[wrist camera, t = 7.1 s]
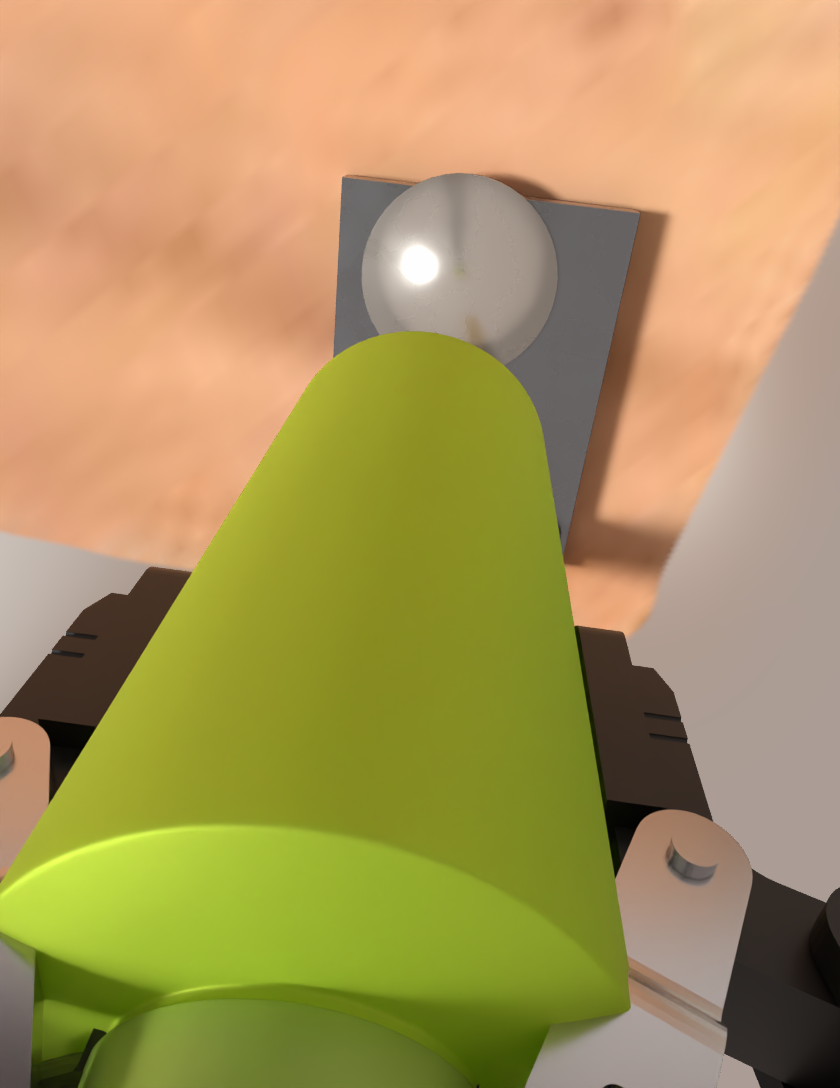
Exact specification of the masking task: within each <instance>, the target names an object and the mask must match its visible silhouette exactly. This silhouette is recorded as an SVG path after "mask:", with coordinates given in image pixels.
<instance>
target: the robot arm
mask: <svg viewBox="0 0 840 1088" xmlns="http://www.w3.org/2000/svg"><path fill="white" fill-rule="evenodd" d="M191 574H192V572H187V571H180V570H173V569H165V568H158V567H149V568H148V569H147V570H146V571H145V572H144V574H143V575H142V577H141V578H140V579H139V581H138V582H137V583H136V585H135V586H134V588H133V589H132V590H131V592H130V593H129V594H128V595H123V594H116V593H111V594H109V595H108V596H106V597H104V598H102V599H101V600H99V601H98V602H96V603H94V604H92V605H91V606H89V607H88V608H86V609H84V610H83V611H82V613H81V614H80V615H79V617H78V618H77V619H76V620H75V621H74V623H73V624H72V625H71V626H70V628H69V629H68V630H67V631H66V636H62V638H61V639H60V640H59V641H58V643H57V644H56V645H55V646H54V648H53V649H52V653H51V654H48V655H47V656H46V658H45V659H44V660H43V661H42V663H41V664H40V665H39V666H38V668H37V669H36V670H35V672H34V673H33V674H32V675H31V676H30V678H29V679H28V680H27V681H26V683H25V684H24V685H23V686H22V688H21V689H20V690H19V692H18V693H17V694H16V695H15V697H14V698H13V699H12V701H11V702H10V703H9V704H8V705H7V707H6V708H5V709H4V710H3V712H2V713H1V714H0V883H1V881H2V880H3V878H4V877H5V875H6V873H7V872H8V870H9V868H10V867H11V865H12V864H13V862H14V860H15V859H16V857H17V855H18V854H19V852H20V851H21V849H22V847H23V846H24V844H25V843H26V841H27V839H28V838H29V836H30V834H31V833H32V831H33V830H34V828H35V826H36V825H37V823H38V821H39V820H40V818H41V817H42V815H43V813H44V812H45V810H46V809H47V807H48V805H49V804H50V802H51V800H52V799H53V797H54V796H55V794H56V792H57V791H58V789H59V787H60V786H61V784H62V783H63V781H64V779H65V778H66V776H67V775H68V773H69V771H70V770H71V768H72V766H73V765H74V763H75V762H76V760H77V758H78V757H79V755H80V753H81V752H82V750H83V749H84V747H85V745H86V744H87V742H88V741H89V739H90V737H91V736H92V734H93V732H94V731H95V729H96V728H97V726H98V724H99V723H100V721H101V720H102V718H103V716H104V715H105V713H106V711H107V710H108V708H109V707H110V705H111V703H112V702H113V700H114V698H115V697H116V695H117V694H118V692H119V690H120V689H121V687H122V686H123V684H124V682H125V681H126V679H127V677H128V676H129V674H130V673H131V671H132V669H133V668H134V666H135V664H136V663H137V661H138V660H139V658H140V656H141V655H142V653H143V652H144V650H145V648H146V647H147V645H148V643H149V642H150V640H151V639H152V637H153V635H154V634H155V632H156V630H157V629H158V627H159V626H160V624H161V622H162V621H163V619H164V618H165V616H166V614H167V613H168V611H169V609H170V608H171V606H172V605H173V603H174V601H175V600H176V598H177V596H178V595H179V593H180V592H181V590H182V588H183V587H184V585H185V584H186V582H187V580H188V579H189V577H190V575H191ZM574 628H575V634H576V641H577V647H578V653H579V659H580V665H581V671H582V678H583V684H584V690H585V696H586V702H587V709H588V715H589V721H590V727H591V733H592V740H593V746H594V752H595V758H596V764H597V770H598V777H599V783H600V789H601V795H602V801H603V808H604V814H605V820H606V826H607V832H608V839H609V845H610V851H611V857H612V863H613V870H614V876H615V882H616V888H617V894H618V900H619V907H620V913H621V919H622V925H623V931H624V938H625V944H626V950H627V956H628V962H629V969H630V971H628V985H629V994H630V1002H631V1008H630V1010H629V1011H627V1012H623V1013H618V1014H613V1015H608V1016H602V1017H597V1018H591V1019H585V1020H579V1021H572V1022H565V1023H556V1024H551V1027H550V1029H549V1031H548V1034H547V1036H546V1038H545V1041H544V1043H543V1046H542V1048H541V1050H540V1053H539V1055H538V1057H537V1060H536V1062H535V1064H534V1067H533V1069H532V1071H531V1074H530V1076H529V1079H528V1081H527V1083H526V1086H525V1088H717V1083H718V1079H719V1074H720V1069H721V1065H722V1061H723V1056H724V1054H726V1055H728V1056H731V1057H733V1058H735V1059H737V1060H739V1061H741V1062H743V1063H745V1064H747V1065H749V1066H751V1067H753V1070H754V1072H755V1075H756V1077H757V1080H758V1082H759V1085H760V1087H761V1088H840V888H838V889H836V890H835V891H834V892H833V893H832V894H831V895H830V897H829V899H828V900H827V902H826V903H825V902H823V901H820V900H818V899H816V898H813V897H811V896H808V895H806V894H803V893H801V892H798V891H796V890H794V889H791V888H789V887H786V886H784V885H781V884H779V883H777V882H775V881H772V880H770V879H768V878H766V877H764V876H763V875H761V874H759V873H758V872H756V871H754V870H753V869H752V868H751V865H750V862H749V859H748V857H747V855H746V854H745V852H744V850H743V849H742V847H741V846H740V845H739V843H738V842H737V841H736V840H735V839H734V838H733V837H732V836H731V835H730V834H729V833H728V832H727V831H725V830H724V829H723V828H722V827H720V826H719V825H717V824H716V823H714V822H713V820H712V816H711V813H710V810H709V807H708V804H707V800H706V797H705V794H704V790H703V787H702V784H701V780H700V777H699V774H698V771H697V767H696V764H695V761H694V758H693V755H692V751H691V748H690V744H687V739H688V738H687V735H686V731H685V728H684V725H683V723H682V722H681V715H680V712H679V709H678V706H677V703H676V699H675V696H674V692H673V691H672V690H671V689H670V688H669V686H668V685H667V684H666V683H665V681H664V680H663V679H662V678H661V677H660V676H659V674H657V672H656V671H655V670H654V669H653V668H648V667H641V666H633V665H632V663H631V659H630V655H629V651H628V647H627V643H626V639H625V635H624V633H623V632H619V631H612V630H605V629H598V628H590V627H583V626H575V627H574ZM43 1006H44V996H43V990H42V985H41V979H40V974H39V968H38V962H37V956H36V950H35V948H33V947H30V946H28V945H26V944H24V943H22V942H20V941H18V940H16V939H14V938H12V937H10V936H8V935H6V934H4V933H2V932H0V1088H78V1085H79V1083H80V1080H81V1077H82V1074H83V1072H82V1071H83V1069H84V1067H85V1064H86V1062H87V1060H88V1057H89V1055H90V1053H91V1050H92V1049H93V1047H94V1046H95V1045H96V1044H97V1042H98V1041H99V1040H100V1039H101V1038H102V1037H103V1036H104V1035H106V1034H107V1033H106V1032H105V1031H102V1030H98V1029H94V1028H93V1031H92V1033H91V1035H90V1038H89V1040H88V1042H87V1045H86V1047H85V1049H84V1052H78V1053H72V1054H68V1055H64V1056H60V1057H57V1058H53V1059H49V1060H46V1061H43V1062H42V1032H43ZM476 1088H479V1084H478V1085H477V1087H476Z"/></svg>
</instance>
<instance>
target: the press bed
mask: <svg viewBox="0 0 840 1088" xmlns="http://www.w3.org/2000/svg"><path fill="white" fill-rule="evenodd" d="M639 217H640V213H639V212H638V211H637V210H635V209H627V208H619V207H611V206H602V205H594V204H586V203H578V202H569V201H561V200H553V199H544V198H536V197H528V196H522V195H520V194H519V193H518V192H516V191H515V190H513V189H512V188H511V187H509V186H507V185H505V184H503V183H501V182H499V181H497V180H494V179H491V178H488V177H486V176H481V175H475V174H465V173H455V174H445V175H441V176H436V177H432V178H430V179H427V180H425V181H422V182H420V183H412V182H404V181H396V180H387V179H379V178H371V177H362V176H354V175H346V176H344V177H342V193H341V214H340V234H339V254H338V275H337V295H336V315H335V336H334V356H333V358H334V357H335V356H337V355H338V354H340V353H341V352H343V351H344V350H346V349H348V348H349V347H351V346H353V345H355V344H357V343H359V342H362V341H364V340H367V339H369V338H372V337H376V336H379V335H384V334H388V333H395V332H405V331H421V332H431V333H438V334H443V335H447V336H451V337H454V338H457V339H460V340H463V341H465V342H468V343H470V344H472V345H474V346H476V347H478V348H480V349H482V350H483V351H485V352H487V353H488V354H490V355H491V356H493V357H494V358H495V359H497V360H498V361H499V362H500V363H502V364H503V365H504V366H505V367H506V368H507V369H508V370H509V371H510V372H511V373H512V374H513V375H514V376H515V377H516V378H517V380H518V381H519V382H520V383H521V385H522V386H523V388H524V389H525V390H526V392H527V394H528V395H529V397H530V399H531V401H532V403H533V405H534V407H535V409H536V412H537V414H538V417H539V420H540V423H541V427H542V431H543V436H544V442H545V449H546V455H547V461H548V467H549V473H550V480H551V486H552V492H553V498H554V504H555V511H556V517H557V523H558V529H559V535H560V542H561V548H562V554H563V555H564V550H565V546H566V541H567V537H568V533H569V528H570V524H571V519H572V515H573V510H574V506H575V501H576V497H577V493H578V488H579V484H580V479H581V475H582V470H583V466H584V462H585V457H586V453H587V448H588V444H589V439H590V435H591V430H592V426H593V422H594V417H595V413H596V408H597V404H598V399H599V395H600V391H601V386H602V382H603V377H604V373H605V368H606V364H607V359H608V355H609V351H610V346H611V342H612V337H613V333H614V328H615V324H616V320H617V315H618V311H619V306H620V302H621V297H622V293H623V288H624V284H625V280H626V275H627V271H628V266H629V262H630V257H631V253H632V249H633V244H634V240H635V235H636V231H637V226H638V222H639Z"/></svg>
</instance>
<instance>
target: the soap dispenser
mask: <svg viewBox="0 0 840 1088" xmlns="http://www.w3.org/2000/svg"><path fill="white" fill-rule="evenodd" d="M0 932H2V933H4V934H6V935H8V936H10V937H12V938H14V939H16V940H18V941H20V942H22V943H24V944H26V945H28V946H30V947H33V948H35V950H36V956H37V962H38V968H39V974H40V979H41V985H42V990H43V996H44V1006H43V1032H42V1062H43V1061H46V1060H49V1059H53V1058H57V1057H60V1056H64V1055H68V1054H72V1053H78V1052H84V1049H85V1047H86V1045H87V1042H88V1040H89V1038H90V1035H91V1033H92V1031H93V1028H94V1029H98V1030H102V1031H105V1032H106V1033H107V1034H106V1035H104V1036H103V1037H102V1038H101V1039H100V1040H99V1041H98V1042H97V1044H96V1045H95V1046H94V1047H93V1049H92V1050H91V1053H90V1055H89V1057H88V1060H87V1062H86V1064H85V1067H84V1069H83V1071H82V1072H83V1074H82V1077H81V1080H80V1083H79V1085H78V1088H476V1087H477V1085H478V1084H479V1088H525V1086H526V1083H527V1081H528V1079H529V1076H530V1074H531V1071H532V1069H533V1067H534V1064H535V1062H536V1060H537V1057H538V1055H539V1053H540V1050H541V1048H542V1046H543V1043H544V1041H545V1038H546V1036H547V1034H548V1031H549V1029H550V1027H551V1024H556V1023H565V1022H572V1021H579V1020H585V1019H591V1018H597V1017H602V1016H608V1015H613V1014H618V1013H623V1012H627V1011H629V1010H630V1008H631V1002H630V994H629V985H628V971H630V969H629V962H628V956H627V950H626V944H625V938H624V931H623V925H622V919H621V913H620V907H619V900H618V894H617V888H616V882H615V876H614V870H613V863H612V857H611V851H610V845H609V839H608V832H607V826H606V820H605V814H604V808H603V801H602V795H601V789H600V783H599V777H598V770H597V764H596V758H595V752H594V746H593V740H592V733H591V727H590V721H589V715H588V709H587V702H586V696H585V690H584V684H583V678H582V671H581V665H580V659H579V653H578V647H577V641H576V634H575V628H574V622H573V616H572V610H571V603H570V597H569V591H568V585H567V579H566V572H565V566H564V560H563V554H562V548H561V542H560V535H559V529H558V523H557V517H556V511H555V504H554V498H553V492H552V486H551V480H550V473H549V467H548V461H547V455H546V449H545V442H544V436H543V431H542V427H541V423H540V420H539V417H538V414H537V412H536V409H535V407H534V405H533V403H532V401H531V399H530V397H529V395H528V394H527V392H526V390H525V389H524V388H523V386H522V385H521V383H520V382H519V381H518V380H517V378H516V377H515V376H514V375H513V374H512V373H511V372H510V371H509V370H508V369H507V368H506V367H505V366H504V365H503V364H502V363H500V362H499V361H498V360H497V359H495V358H494V357H493V356H491V355H490V354H488V353H487V352H485V351H483V350H482V349H480V348H478V347H476V346H474V345H472V344H470V343H468V342H465V341H463V340H460V339H457V338H454V337H451V336H447V335H443V334H438V333H431V332H421V331H405V332H395V333H388V334H384V335H379V336H376V337H372V338H369V339H367V340H364V341H362V342H359V343H357V344H355V345H353V346H351V347H349V348H348V349H346V350H344V351H343V352H341V353H340V354H338V355H337V356H335V357H334V358H333V359H332V360H330V361H329V362H328V363H327V364H326V365H325V366H324V367H323V368H322V369H321V370H320V371H319V372H318V373H317V374H316V375H315V377H314V378H313V379H312V380H311V382H310V383H309V385H308V386H307V388H306V389H305V391H304V393H303V394H302V396H301V397H300V399H299V401H298V402H297V404H296V406H295V407H294V409H293V410H292V412H291V414H290V415H289V417H288V418H287V420H286V422H285V423H284V425H283V427H282V428H281V430H280V431H279V433H278V435H277V436H276V438H275V439H274V441H273V443H272V444H271V446H270V448H269V449H268V451H267V452H266V454H265V456H264V457H263V459H262V461H261V462H260V464H259V465H258V467H257V469H256V470H255V472H254V473H253V475H252V477H251V478H250V480H249V482H248V483H247V485H246V486H245V488H244V490H243V491H242V493H241V495H240V496H239V498H238V499H237V501H236V503H235V504H234V506H233V507H232V509H231V511H230V512H229V514H228V516H227V517H226V519H225V520H224V522H223V524H222V525H221V527H220V529H219V530H218V532H217V533H216V535H215V537H214V538H213V540H212V541H211V543H210V545H209V546H208V548H207V550H206V551H205V553H204V554H203V556H202V558H201V559H200V561H199V563H198V564H197V566H196V567H195V569H194V571H193V572H192V574H191V575H190V577H189V579H188V580H187V582H186V584H185V585H184V587H183V588H182V590H181V592H180V593H179V595H178V596H177V598H176V600H175V601H174V603H173V605H172V606H171V608H170V609H169V611H168V613H167V614H166V616H165V618H164V619H163V621H162V622H161V624H160V626H159V627H158V629H157V630H156V632H155V634H154V635H153V637H152V639H151V640H150V642H149V643H148V645H147V647H146V648H145V650H144V652H143V653H142V655H141V656H140V658H139V660H138V661H137V663H136V664H135V666H134V668H133V669H132V671H131V673H130V674H129V676H128V677H127V679H126V681H125V682H124V684H123V686H122V687H121V689H120V690H119V692H118V694H117V695H116V697H115V698H114V700H113V702H112V703H111V705H110V707H109V708H108V710H107V711H106V713H105V715H104V716H103V718H102V720H101V721H100V723H99V724H98V726H97V728H96V729H95V731H94V732H93V734H92V736H91V737H90V739H89V741H88V742H87V744H86V745H85V747H84V749H83V750H82V752H81V753H80V755H79V757H78V758H77V760H76V762H75V763H74V765H73V766H72V768H71V770H70V771H69V773H68V775H67V776H66V778H65V779H64V781H63V783H62V784H61V786H60V787H59V789H58V791H57V792H56V794H55V796H54V797H53V799H52V800H51V802H50V804H49V805H48V807H47V809H46V810H45V812H44V813H43V815H42V817H41V818H40V820H39V821H38V823H37V825H36V826H35V828H34V830H33V831H32V833H31V834H30V836H29V838H28V839H27V841H26V843H25V844H24V846H23V847H22V849H21V851H20V852H19V854H18V855H17V857H16V859H15V860H14V862H13V864H12V865H11V867H10V868H9V870H8V872H7V873H6V875H5V877H4V878H3V880H2V881H1V883H0Z"/></svg>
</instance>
